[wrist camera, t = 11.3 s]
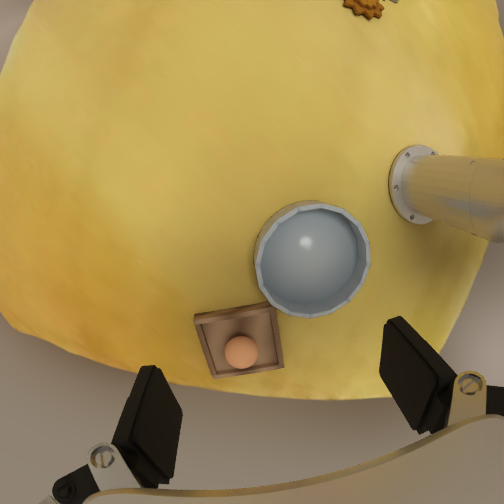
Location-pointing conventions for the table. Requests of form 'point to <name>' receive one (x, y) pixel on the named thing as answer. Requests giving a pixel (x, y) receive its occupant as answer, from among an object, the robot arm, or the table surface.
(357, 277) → the bowl
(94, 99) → the table surface
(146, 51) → the table surface
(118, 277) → the table surface
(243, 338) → the ball
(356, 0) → the gear puzzle
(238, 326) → the tray
